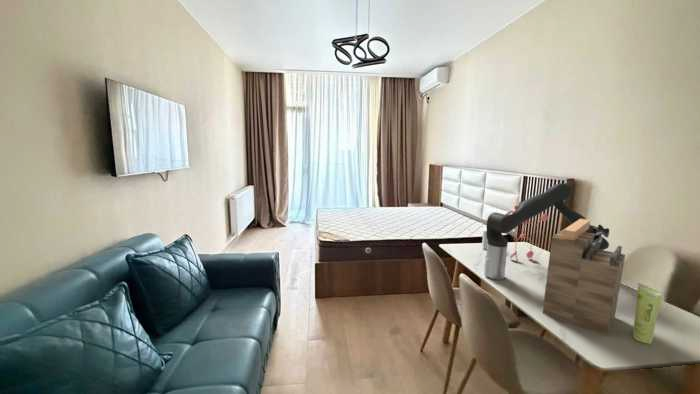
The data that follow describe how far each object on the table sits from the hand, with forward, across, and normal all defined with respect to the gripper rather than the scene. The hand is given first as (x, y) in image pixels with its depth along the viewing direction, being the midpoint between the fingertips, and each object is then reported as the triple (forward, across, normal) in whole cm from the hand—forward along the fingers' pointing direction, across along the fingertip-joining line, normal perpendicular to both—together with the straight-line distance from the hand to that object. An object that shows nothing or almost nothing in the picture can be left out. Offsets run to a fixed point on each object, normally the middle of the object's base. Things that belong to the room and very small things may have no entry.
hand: (587, 224), depth 134 cm
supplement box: (-41, -54, +14) cm, 69 cm away
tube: (+7, +23, +41) cm, 48 cm away
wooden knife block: (+5, +5, +40) cm, 40 cm away
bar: (+16, 0, +9) cm, 19 cm away
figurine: (-37, -34, +16) cm, 53 cm away
